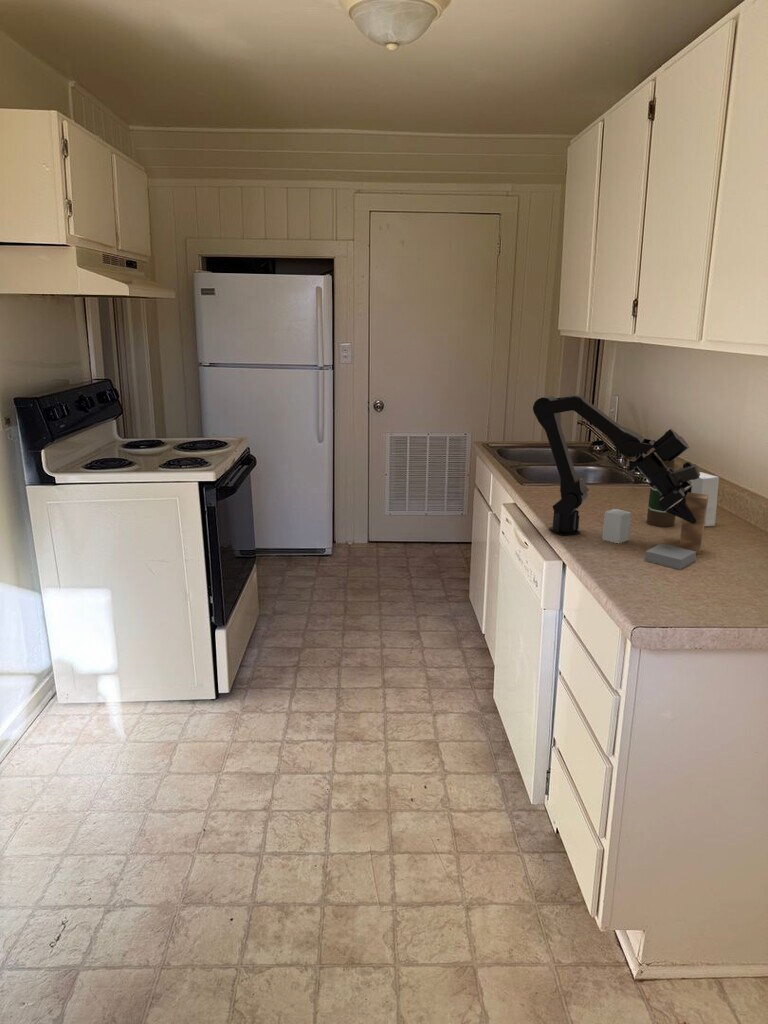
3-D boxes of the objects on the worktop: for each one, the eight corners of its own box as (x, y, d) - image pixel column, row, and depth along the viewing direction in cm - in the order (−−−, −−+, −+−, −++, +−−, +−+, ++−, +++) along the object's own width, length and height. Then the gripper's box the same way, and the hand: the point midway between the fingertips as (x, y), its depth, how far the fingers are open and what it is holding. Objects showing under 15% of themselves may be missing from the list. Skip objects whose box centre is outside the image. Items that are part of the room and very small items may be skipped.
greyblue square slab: (644, 562, 178) (645, 551, 177) (660, 554, 184) (661, 543, 183) (679, 571, 172) (681, 559, 171) (694, 562, 178) (696, 551, 177)
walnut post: (678, 551, 185) (685, 496, 181) (681, 546, 189) (688, 492, 185) (699, 554, 183) (706, 498, 179) (701, 549, 187) (708, 494, 183)
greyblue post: (618, 544, 191) (621, 515, 189) (602, 539, 195) (604, 511, 193) (628, 540, 194) (631, 512, 192) (612, 536, 198) (615, 508, 196)
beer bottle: (640, 521, 212) (649, 442, 206) (661, 519, 215) (670, 441, 209) (659, 528, 205) (668, 447, 199) (680, 525, 208) (690, 445, 202)
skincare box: (715, 526, 208) (721, 477, 204) (696, 527, 207) (703, 478, 203) (697, 518, 216) (703, 471, 212) (679, 519, 215) (685, 471, 211)
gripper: (677, 459, 174) (721, 508, 171) (686, 447, 189) (726, 492, 187) (641, 487, 179) (682, 534, 177) (653, 473, 195) (691, 517, 193)
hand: (697, 518), depth 183 cm, fingers open, 9 cm apart
